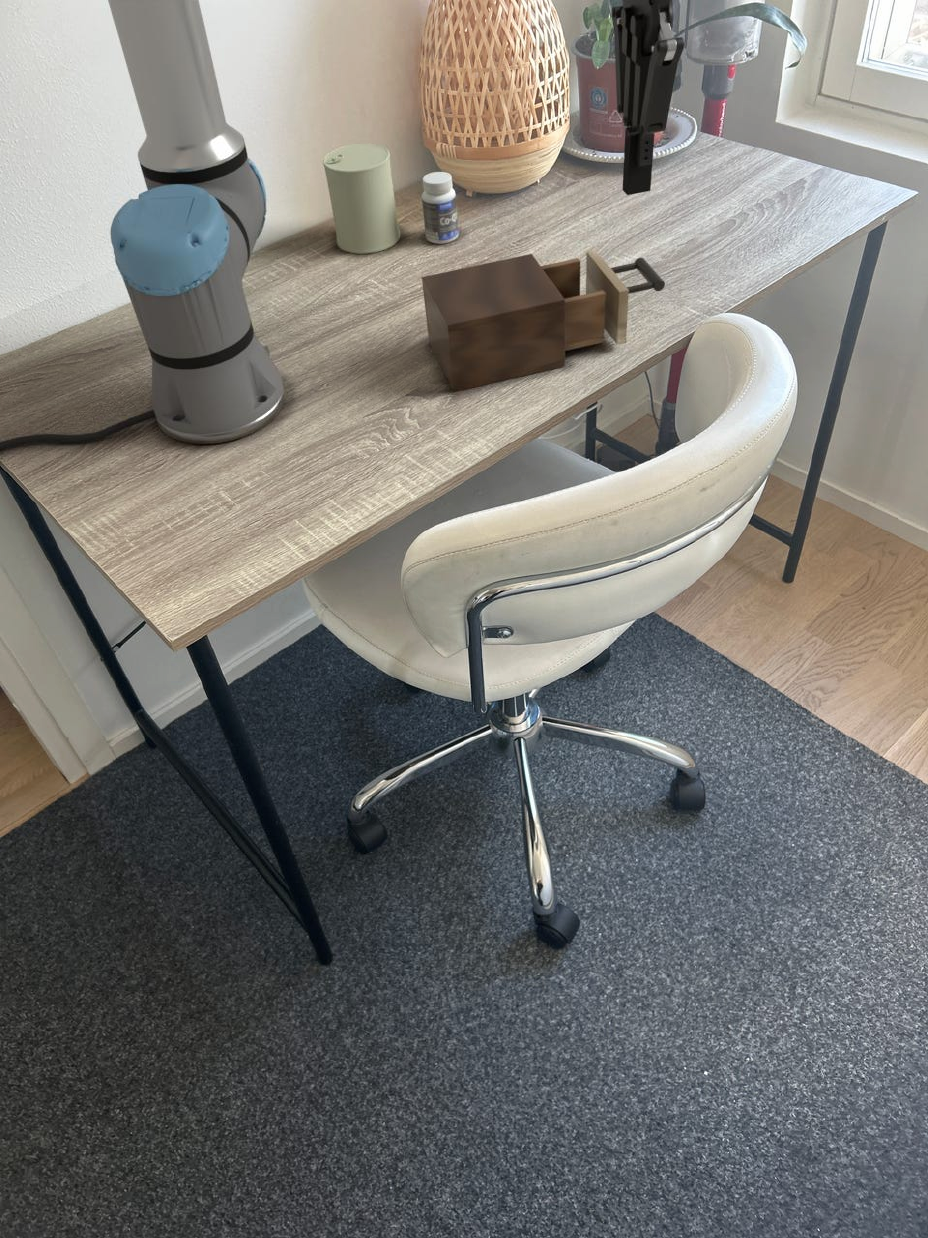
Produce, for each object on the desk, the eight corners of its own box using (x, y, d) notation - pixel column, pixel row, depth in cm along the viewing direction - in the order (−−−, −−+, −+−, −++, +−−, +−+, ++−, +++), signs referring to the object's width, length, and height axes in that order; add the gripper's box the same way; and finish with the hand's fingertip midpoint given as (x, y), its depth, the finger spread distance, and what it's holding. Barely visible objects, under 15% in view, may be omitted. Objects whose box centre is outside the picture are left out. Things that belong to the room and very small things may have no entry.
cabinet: (533, 318, 123) (531, 253, 116) (565, 366, 115) (565, 299, 109) (429, 341, 121) (421, 276, 115) (454, 392, 113) (447, 325, 107)
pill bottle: (445, 247, 137) (439, 187, 131) (419, 239, 139) (412, 180, 133) (465, 233, 140) (461, 173, 134) (439, 226, 142) (434, 167, 136)
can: (330, 231, 143) (315, 147, 134) (391, 218, 145) (380, 134, 136) (344, 259, 137) (329, 172, 128) (407, 245, 138) (396, 158, 130)
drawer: (635, 292, 123) (638, 240, 118) (669, 332, 116) (674, 279, 111) (499, 322, 121) (496, 270, 116) (525, 365, 114) (524, 312, 109)
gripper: (719, -52, 87) (692, 208, 105) (661, -84, 96) (645, 161, 113) (640, -39, 86) (626, 221, 104) (589, -73, 95) (584, 172, 112)
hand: (636, 189), depth 108 cm, fingers closed
